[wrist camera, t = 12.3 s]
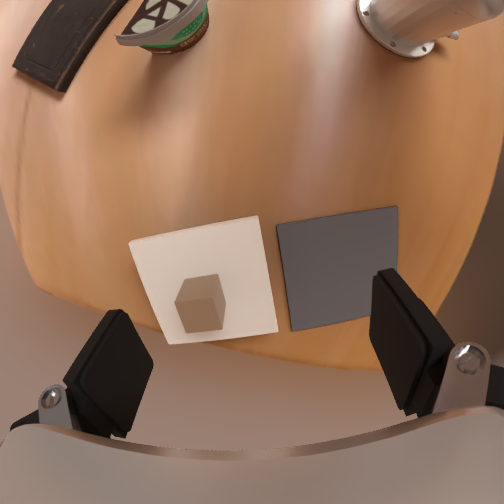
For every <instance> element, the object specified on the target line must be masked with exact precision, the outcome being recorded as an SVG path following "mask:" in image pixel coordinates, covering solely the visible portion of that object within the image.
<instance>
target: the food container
mask: <svg viewBox="0 0 504 504" xmlns="http://www.w3.org/2000/svg"><path fill="white" fill-rule="evenodd" d="M207 2H208V0H144V1H143V3H142V4H141V6H140V7H139V9H138V10H137V12H136V14H135V15H134V16H133V18H132V19H131V21H130V22H129V23H128V25H127V26H126V28H125V29H124V31H123V32H122V34H121V35H116V34H114V35H115V36H116V40H117V42H118V43H119V44H120V45H124V46H139V47H141V48H144V49H146V50H148V51H150V52H152V53H156V54H173V53H177V52H181V51H184V50H186V49H187V48H189V47H191V46H193V45H194V44H196V43H197V42H198V41H199V40H200V39H201V38H202V37H203V36H204V34H205V33H206V31H207V28H208V25H209V14H208V8H207Z"/></svg>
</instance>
